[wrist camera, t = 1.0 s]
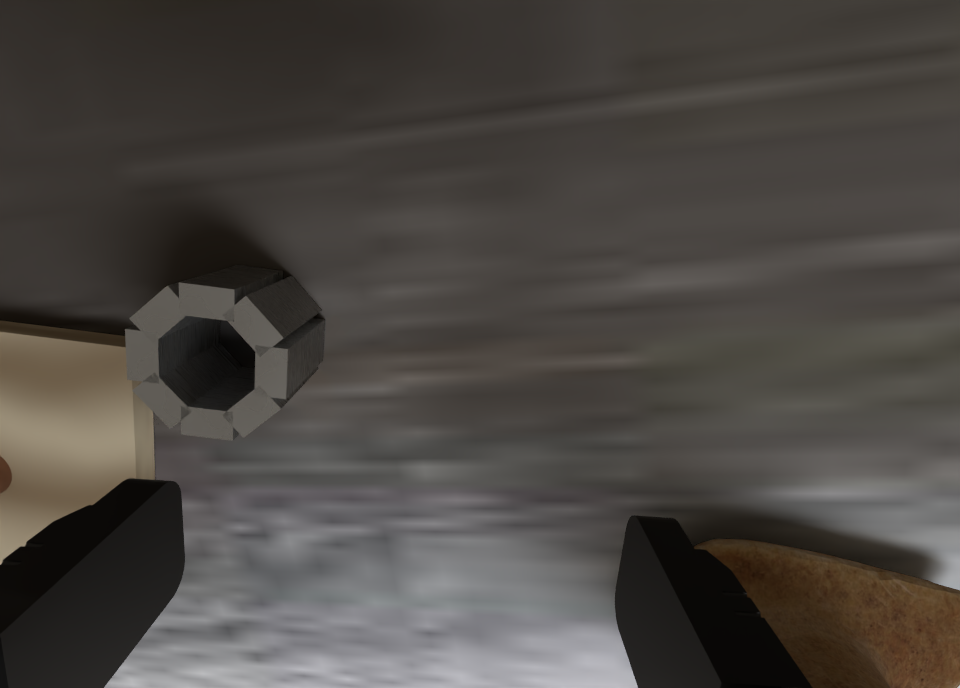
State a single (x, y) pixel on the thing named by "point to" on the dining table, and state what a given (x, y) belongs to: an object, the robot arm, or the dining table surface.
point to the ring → (224, 350)
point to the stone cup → (849, 616)
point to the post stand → (65, 426)
